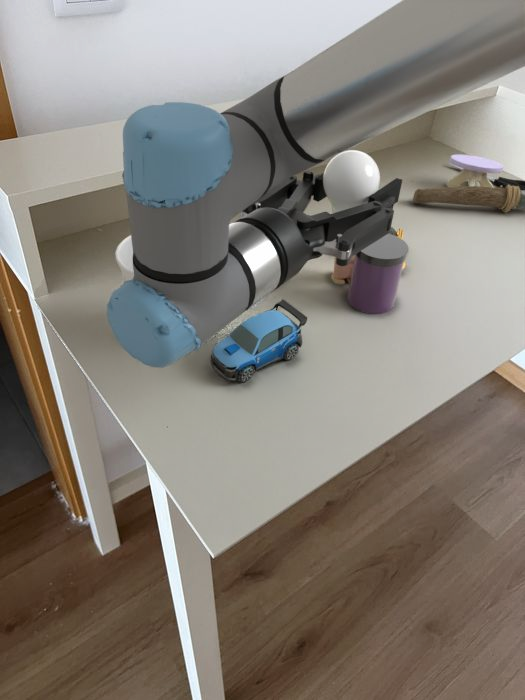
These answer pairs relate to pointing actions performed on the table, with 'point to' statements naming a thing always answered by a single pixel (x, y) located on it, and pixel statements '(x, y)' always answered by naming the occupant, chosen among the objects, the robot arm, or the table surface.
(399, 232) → the key
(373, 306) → the jar
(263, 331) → the toy car
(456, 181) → the toy table
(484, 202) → the stone tool
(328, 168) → the lightbulb
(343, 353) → the table surface
